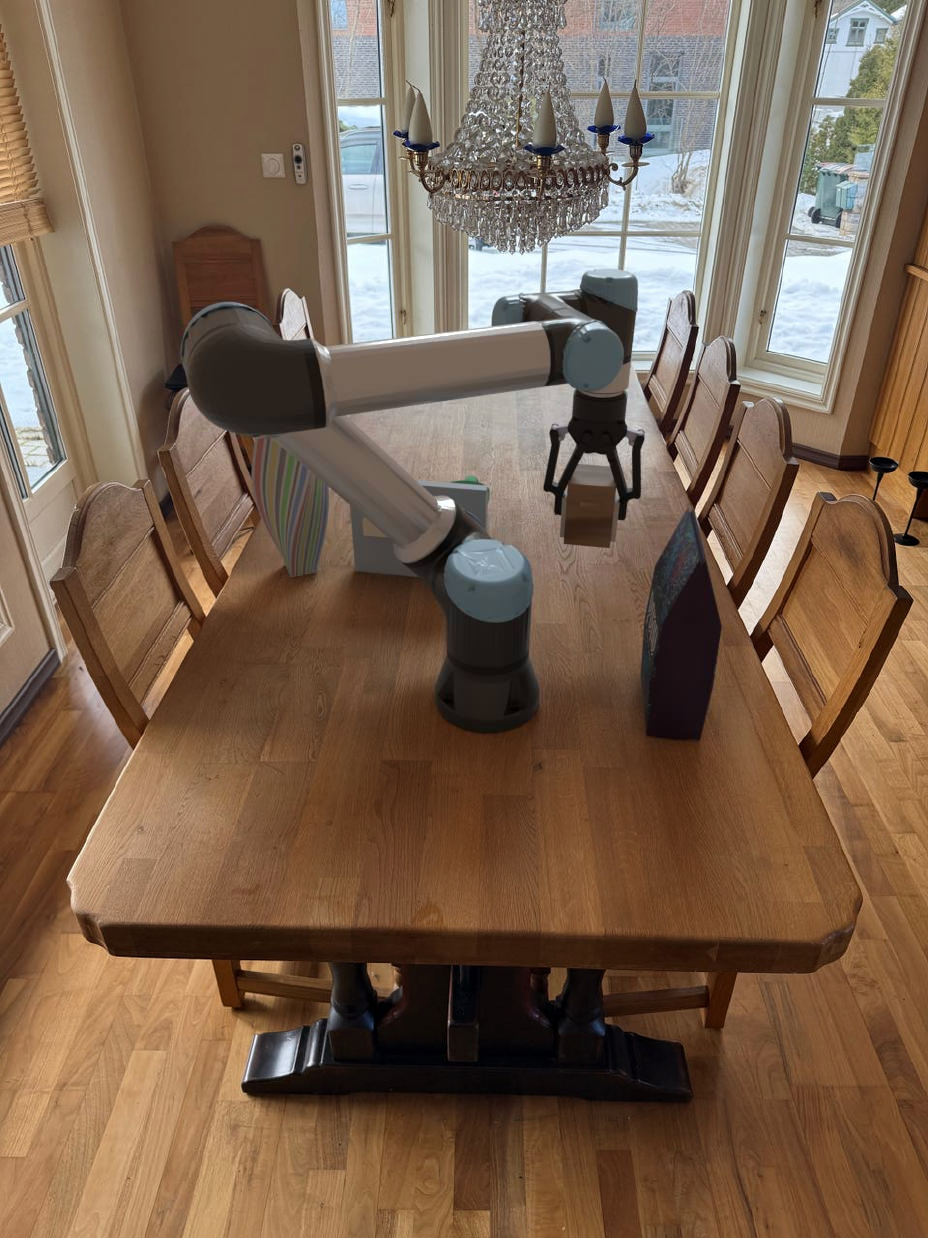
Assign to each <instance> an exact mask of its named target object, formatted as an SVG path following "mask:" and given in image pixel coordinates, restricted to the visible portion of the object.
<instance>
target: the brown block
mask: <svg viewBox="0 0 928 1238" xmlns="http://www.w3.org/2000/svg"><path fill="white" fill-rule="evenodd" d="M566 491H567V503H566V517H565V531H564V537H563V545H569V546H581V547H594V548H603V549H610V548H611V543H612V542H611V532H612V523H613V513H614V503H615V495H617V488H616V484H615V481H614V478H613V475H612V471H611V468H610V465H597V464H582V463H578V465H577V467H576V469H575V471H574V473H573V475H572V477H571V479H570V480H569V481H568V485H567V488H566Z"/></svg>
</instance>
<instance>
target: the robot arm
mask: <svg viewBox="0 0 928 1238" xmlns="http://www.w3.org/2000/svg"><path fill="white" fill-rule="evenodd" d="M638 297H639V281H638V278H637V277H636V276H635V274H633V273H631V272H630V271H628V270H624V269H623V270H622V269H617V268H615V269H614V268H596V269H593V270H587V271H585V272H584V273H583V275H582V276H581V281H580V284H579V289H572V290H564V291H550V292H549V291H548V292H546V291H545V292H535V293H533V292H532V293H524V292H520V293H518V294H513V295H506V296H501V297H500V298H498V299H497V300H496V302H495V303H494V306H493V309H492V312H491V313H492V314H491V326H485V327H484V326H483V327H476V328H468V329H460V330H453V331H452V330H451V331H443V332H435V333H426V334H419V335H410V336H401V337H394V338H393V337H392V338H386V339H385V338H384V339H377V340H368V341H360V342H351V343H343V344H336V345H326V346H324V345H323V344H320V343H319V342H318V341H317V340H316V339H315V338H310V337H309V338H301V339H290V340H288V339H283V338H282V337H281V336H280V335H279V334H278V333H277V332H276V331H275V329H274V327H273V326H272V323H271V322H270V320H269V319H268V318H267V317H266V316H265V315H264V314H262V313H261V312H260V311H259V310H257V309H254V308H253V307H251V306H249V305H246V304H243V303H240V302H235V301H224V302H217V303H213V304H211V305H208V306H206V307H204V308H202V309H201V310H200V311H198V312H197V313H196V314H195V315H194V316H193V317H192V318H191V319H190V320H189V322H188V324H187V325H186V328H185V330H184V333H183V336H182V340H181V344H180V351H179V353H180V359H181V364H182V368H183V370H184V373H185V376H186V382H187V383H186V384H187V387H188V392H189V395H190V397H191V400H192V402H193V403H194V405H195V407H196V408H197V410H198V412H199V413H201V414H202V416H204V418H205V419H206V420H207V421H209V422H210V423H212V424H213V425H214V426H215V427H218V428H219V429H221V430H224V431H227V432H230V433H233V434H237V435H243V436H249V437H251V438H252V439H254V440H255V439H261V438H272V439H273V440H274V441H275V442H276V443H278V444H279V445H280V446H281V447H282V448H283V449H285V450H286V451H287V452H288V453H289V454H291V455H292V456H293V457H294V458H295V459H296V460H298V461H299V462H300V463H301V464H302V465H304V466H305V467H306V468H307V469H308V470H309V471H311V472H312V473H313V474H314V475H315V476H316V477H318V478H319V479H320V480H321V481H322V482H324V483H325V484H326V485H327V486H328V487H329V489H331V490H332V491H333V492H334V493H335V494H336V495H338V496H339V497H340V498H341V499H342V500H343V501H345V502H346V503H347V504H349V506H350V505H351V506H352V507H353V508H354V509H355V510H357V511H358V512H359V513H360V514H361V515H362V516H364V517H365V518H366V519H367V520H368V521H370V522H371V523H372V524H373V525H374V526H375V527H377V528H378V529H379V530H380V531H381V532H383V533H384V534H385V535H386V536H387V537H388V538H390V539H391V540H392V541H393V542H394V554H395V556H396V558H397V559H398V560H399V561H401V562H402V563H403V564H404V565H405V566H406V567H408V568H409V569H410V570H411V571H412V572H414V573H415V574H416V575H417V576H418V577H417V578H420V580H422V581H423V582H424V583H425V584H426V585H427V587H428V588H429V589H430V591H431V592H432V594H433V596H434V599H435V600H436V602H437V603H438V606H439V607H440V609H441V610H442V612H443V614H444V619H445V631H446V632H445V634H446V635H445V636H446V637H445V639H446V640H445V641H446V656H445V658H444V661H443V663H442V666H441V669H440V671H439V674H438V676H437V679H436V682H435V685H434V703H435V707H436V709H437V712H438V713H439V715H441V717H442V718H443V719H444V720H446V721H447V722H448V723H450V724H451V725H453V726H455V727H457V728H459V729H463V730H466V731H469V732H475V733H484V734H485V733H486V734H493V733H501V732H506V731H511V730H514V729H516V728H518V727H521V726H523V725H524V724H526V723H528V721H530V720H531V719H532V718H533V717H534V716H535V715H536V713H537V710H538V709H539V705H540V685H539V682H538V679H537V676H536V674H535V673H536V672H535V670H534V667H533V664H532V661H531V658H530V642H531V641H530V639H531V624H532V623H531V622H532V611H533V610H532V609H533V607H532V606H533V597H534V588H535V587H534V584H535V583H534V578H533V569H532V565H531V562H530V561H529V559H528V558H527V556H526V555H525V554H524V553H523V552H522V551H521V550H520V549H518V548H517V547H515V546H513V545H511V544H506V545H505V543H504V542H503V541H502V540H501V541H500V540H496V539H493V538H492V536H491V535H490V534H489V533H488V530H487V531H486V530H485V528H484V526H483V525H482V523H481V522H480V521H479V520H478V519H477V518H476V517H475V516H474V515H473V514H471V513H469V512H468V511H466V510H465V509H462V508H461V507H460V506H459V505H458V504H456V503H455V502H454V501H453V500H452V499H451V498H449V497H447V496H443V495H442V496H434V497H433V496H432V495H431V494H430V493H429V492H428V491H427V490H426V489H425V488H424V487H423V486H422V485H421V484H419V483H418V482H417V481H416V480H417V479H415V478H414V477H413V476H412V475H411V474H410V473H409V472H407V470H405V468H404V467H402V465H400V464H399V463H398V462H397V461H396V460H395V459H394V458H393V457H392V456H390V454H388V452H387V451H385V450H384V449H383V448H382V446H380V445H379V444H377V443H376V441H375V440H374V439H372V438H371V437H370V436H369V435H368V434H367V433H366V432H365V431H364V430H362V429H361V428H360V427H359V425H357V424H356V423H355V422H354V421H353V420H351V418H349V415H350V416H351V415H358V414H364V413H371V412H377V411H378V412H379V411H384V410H391V409H398V408H405V407H406V408H407V407H411V406H412V407H413V406H419V405H427V404H433V403H441V402H447V401H454V400H456V401H457V400H460V399H461V400H462V399H469V398H474V397H475V398H476V397H483V396H489V395H496V394H502V393H509V392H510V393H511V392H516V391H523V390H533V389H538V388H543V387H554V386H561V385H569V386H570V387H572V388H573V389H574V391H573V396H572V397H573V398H572V412H571V418H570V420H569V422H568V423H567V424H558V423H553V424H552V425H551V426H550V429H549V434H548V435H549V439H550V451H549V455H548V461H547V467H546V472H545V477H544V481H543V491H544V492H546V493H550V494H553V496H554V504H553V505H554V507H553V513H554V515H555V516H560V524H559V525H560V528H559V538H564V531H565V517H566V503H567V488H568V481H569V480H570V479H571V477H572V475H573V473H574V471H575V469H576V467H577V465H578V464H580V461H581V459H582V458H583V455H584V454H589V455H590V454H598V455H602V456H606V459H607V462H608V464H609V465H608V466H610V468H611V471H612V475H613V478H614V481H615V484H616V492H617V494H616V495H615V503H614V513H613V523H612V532H611V542H610V543H612V542H613V543H616V542H617V541H616V539H617V530H618V521H625V520H626V519H627V512H628V503H629V501H631V500H639V499H640V498H641V496H642V451H641V450H642V448H643V445H644V443H645V442H644V441H645V437H646V436H645V435H646V432H645V430H644V429H641V428H640V429H638V430H637V429H636V430H635V429H633V428H628V425H627V423H626V415H627V414H626V412H627V404H628V392H627V389H628V388H629V383H630V375H631V366H632V354H633V346H634V336H635V327H636V319H637V312H638V311H639V310H638V303H639V302H638V300H639V299H638ZM567 434H569V435H570V437H571V439H572V440H573V441H574V443H575V447H574V450H573V452H572V454H571V456H570V458H569V460H568V462H567V463H566V466H565V468H564V470H563V472H562V474H561V476H560V478H559V480H558V482H557V481H554V478H555V474H556V469H557V463H558V457H559V454H560V448H561V442H562V441H564V440H565V438H566V435H567ZM624 438H626V439H628V442H627V443H628V445H629V446H631V447H632V448H631V476H632V477H631V481H632V482H631V485H632V487H630V488H629V487H628V485H627V482H626V478H625V475H624V471H623V467H622V463H621V460H620V457H619V454H618V449H617V446H618V445H619V444H620V442H622V441H623V439H624Z"/></svg>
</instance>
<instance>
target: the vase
mask: <svg viewBox="0 0 928 1238" xmlns="http://www.w3.org/2000/svg"><path fill="white" fill-rule="evenodd" d="M251 487H252V493H253V497H254V501H255V502H254V503H255V504H256V508H257V511H258V513H259V515H260V516H259V517H260V518H261V520H262V522H263V524H264V527H265V529H266V530H267V533H268V534H269V536H270V538H271V540H272V541H273V543H274V545H275V547H276V549H277V551H278V552H279V554H280V556H281V558H282V560H283V563H284V565H285V568H286V570H287V573H288V575H289V577H290V578H295V577H300V576H303V575H304V576H305V575H311V574H316V573H318V570H319V563H320V559H321V555H322V551H323V547H324V542H325V538H326V532H327V528H328V527H327V525H328V519H329V509H330V488H329V487H328V486H327V485H326V484H325V483H324V482H322V481H321V480H320V479H319V478H318V477H316V476H315V475H314V474H313V473H312V472H311V471H309V470H308V469H307V468H306V467H305V466H304V465H302V464H301V463H300V462H299V461H298V460H296V459H295V458H294V457H293V456H292V455H291V454H289V453H288V452H287V451H286V450H285V449H283V448H282V447H281V446H280V445H279V444H278V443H276V442H275V441H274V440H273V439H272V438H261V439H254V443H253V453H252V463H251Z"/></svg>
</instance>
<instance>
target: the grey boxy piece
mask: <svg viewBox="0 0 928 1238" xmlns="http://www.w3.org/2000/svg"><path fill="white" fill-rule="evenodd" d="M415 480H416V481H417V482H418V483H419V484H421V485H422V486H423V487H424V488H425V489H426V490H427V491H428V492H429V493H430V494H431V495H432V496H433V497H434V496H442V495H443V496H447V497H449V498H451V499H452V500H453V501H454V502H455V503H456V504H458V505H459V506H460V507H461V508H462V509H465V510H466V511H468V512H469V513H471V514H473V515H474V516H475V517H476V518H477V519H478V520H479V521H480V522H481V523H482V525H483V526H484V528H485V530H486V531H487V532H488V519H489V518H488V516H489V515H488V514H489V513H488V507H489V502H488V488H489V486H488V485H486V484H484V485H473V484H460V483H449V482H447V481H446V482H445V481H433V480H420V479H419V480H417V479H415ZM485 485H486V486H485ZM349 509H350V510H349V511H350V521H351V522H350V523H351V533H352V546H353V558H354V571H355V572H360V573H362V572H363V573H372V574H379V575H380V574H383V575H392V576H402V577H415V578H419V577H418V576H417V575H416V574H415V573H414V572H412V571H411V570H410V569H409V568H408V567H406V566H405V565H404V564H403V563H402V562H401V561H399V560H398V559H397V558H396V556H395V554H394V542H393V541H392V540H391V539H390V538H388V537H387V536H386V535H385V534H384V533H383V532H381V531H380V530H379V529H378V528H377V527H375V526H374V525H373V524H372V523H371V522H370V521H368V520H367V519H366V518H365V517H364V516H362V515H361V514H360V513H359V512H358V511H357V510H355V509H354V508H353V507H352V506H351V505H350V504H349Z"/></svg>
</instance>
